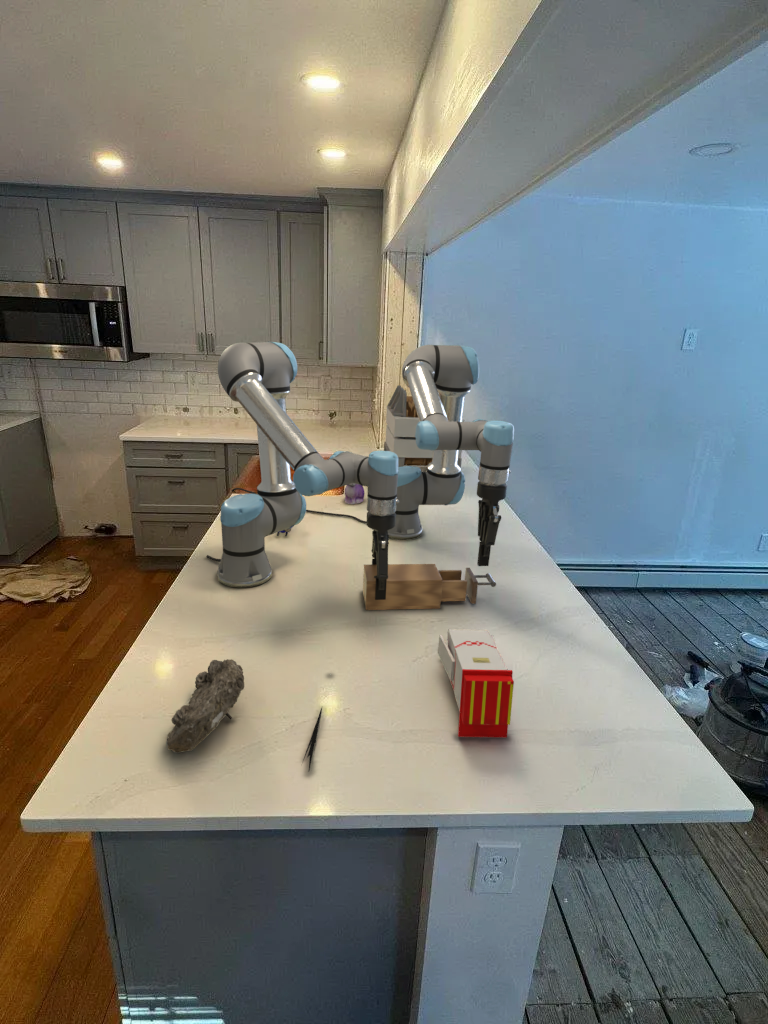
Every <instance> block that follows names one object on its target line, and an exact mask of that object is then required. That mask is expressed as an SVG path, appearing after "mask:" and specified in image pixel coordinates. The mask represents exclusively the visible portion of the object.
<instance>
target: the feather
mask: <svg viewBox="0 0 768 1024" xmlns="http://www.w3.org/2000/svg"><path fill="white" fill-rule="evenodd" d="M329 675H330V676H331V675H332V674H331V673H330V674H329ZM322 710H323V707H321V708H320V710H319V713H318V716H317V719H316V723H315V725H314V728H313V731H312V733H311V737H310V739H309V742H308V745H307V748H306V751H305V754H304V757H303V760H302V763H301V767H302V765H303V763H304V761H305V758H308V759H309V760H308V762H307V763H308V764H307V766H308V771H310V770H311V766H312V765H311V764H312V760H313V757H315V756H314V755H315V751H316V749H315V746H317V739H318V733H319V729H320V722H321V717H322V712H323V711H322ZM313 754H314V755H313ZM306 755H307V757H306Z"/></svg>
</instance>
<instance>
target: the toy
mask: <svg viewBox="0 0 768 1024" xmlns="http://www.w3.org/2000/svg"><path fill="white" fill-rule="evenodd" d="M446 640H447V643H446V641H445V639H444V636H443V635H442V634H439V637H438V646H437V656H438V657H439V659H440V661H441V663H442V666H443V668H444V670H445V672H446V674H447V677H448V679H449V681H450V684H451V687H452V690H453V693H454V697H455V701H456V705H457V708H458V711H459V714H458V715H459V716H458V730H457V731H458V732H457V737H458V738H508V731H509V726H510V725H511V717H512V707H513V697H514V696H513V695H514V684H515V680H514V679H513V673H514V671H513V670H512V669H508V667H507V665H506V662H505V661H504V659H503V658H502V655H501V653H500V651H499V649H498V647H497V643H496V639H495V637H494V635H493V634H491V632H490V631H489V629H467V628H466V629H465V628H463V629H461V628H460V629H459V628H448V630H447V639H446Z"/></svg>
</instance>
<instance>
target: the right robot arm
mask: <svg viewBox="0 0 768 1024" xmlns="http://www.w3.org/2000/svg"><path fill="white" fill-rule="evenodd" d="M401 376H402V380H403V382H404V385H405V386H406V387H407V388H409V391H410V396H412V398H413V401H414V405H415V408H416V411H417V415H418V418H419V421H420V422H418V424H417V426H416V432H415V438H416V445H417V447H418V448H419V449H424V450H431V451H432V450H433V457H432V462H431V463H429V464H428V465H427V466H426V471H422V469H421V467H420V466H407V465H404V466H402V467H398V469H399V473H398V482H397V499H398V500H399V503H396V512H395V513H396V525H395V527H394V528H393V529H391V530H388V535H389V540H395V541H410V540H415V539H418V538H420V537H421V536H422V535H423V525H422V524H421V518H420V515H419V507H420V506H449V505H457V504H459V502H460V501H461V500H462V499H463V496H464V493H465V489H466V483H465V482H466V477H465V474H464V472H462V467H461V468H460V467H459V466H458V465H457V460H458V451H459V450H462V451H479V452H480V457H479V458H480V460H479V464H478V465H479V467H478V473H477V479H478V482H477V487H476V496H477V497H478V498H480V499H478V502H477V503H478V518H477V519H478V521H477V522H478V523H477V536H478V539H479V542H478V544H479V545H478V555H477V566H478V567H489V565H490V557H491V549H492V546H495V543H496V540H497V535H498V530H499V526H500V523H501V520H502V515H500V514H499V512H500V505H499V502H501V501H503V500H505V499H506V497H507V491H508V484H507V483H509V474H511V470H510V467H511V459H512V452H513V445H514V441H515V426H514V425H513V424H512V423H511V422H507V421H504V420H486V419H483V418H477V419H474V420H472V421H464V422H462V419H463V418H464V408H465V400H466V395H467V394H469V393H470V392H471V390H472V385H473V386H474V385H476V384H477V383H478V379H479V377H480V361H479V358H478V353H477V351H476V350H475V348H474V347H471V346H466V345H465V346H464V345H455V344H454V345H451V344H450V345H449V344H443V345H442V344H425V345H421V346H418V347H416V348H415V349H414V350H412V351H411V352H410V353H409V354H408V355H407V356H406V358H405V359H404V361H403V364H402V367H401ZM238 490H239V491H243V492H245V493H247V494H248V493H249V494H250V493H251V494H257V492H255V491H251V490H247V489H246V488H241V487H235V488H233V489H231V492H234V491H238ZM306 513H312V514H318V515H319V514H320V515H328V516H334V517H335V516H336V517H346V518H351V519H354V520H356V521H358V522H360V523H363V524H367V520H362V519H360V518H358V517H356V516H354V515H349V514H344V513H334V512H333V513H332V512H324V511H318V510H311V509H306Z"/></svg>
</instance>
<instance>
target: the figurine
mask: <svg viewBox="0 0 768 1024" xmlns="http://www.w3.org/2000/svg"><path fill="white" fill-rule="evenodd" d="M365 494H366V493H365V489H364V486H362V485H358V484H354V483H351V484H348V485H345V486H344V498H343V500H344V504H348V505H355V504H360V503H363V502H364V500H365Z"/></svg>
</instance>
